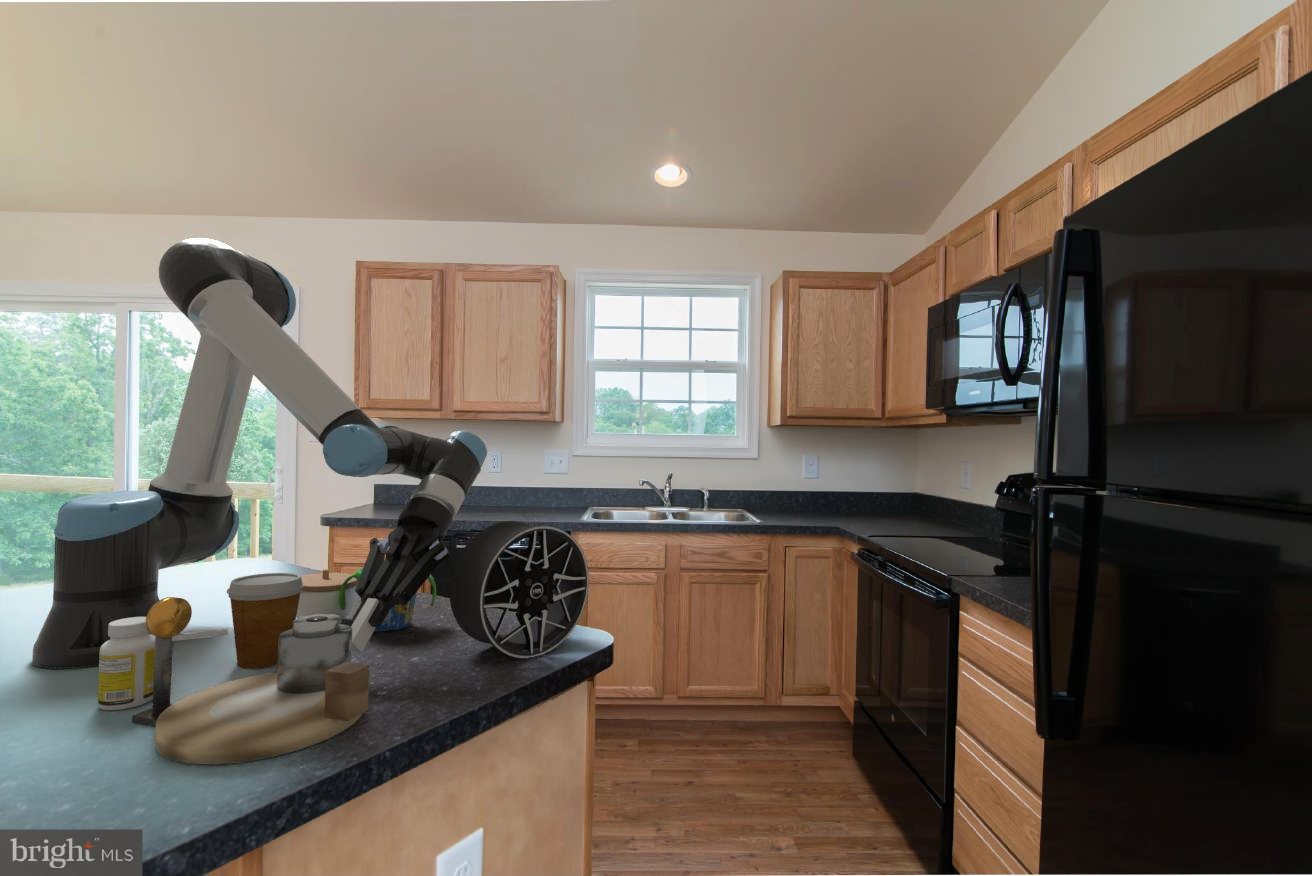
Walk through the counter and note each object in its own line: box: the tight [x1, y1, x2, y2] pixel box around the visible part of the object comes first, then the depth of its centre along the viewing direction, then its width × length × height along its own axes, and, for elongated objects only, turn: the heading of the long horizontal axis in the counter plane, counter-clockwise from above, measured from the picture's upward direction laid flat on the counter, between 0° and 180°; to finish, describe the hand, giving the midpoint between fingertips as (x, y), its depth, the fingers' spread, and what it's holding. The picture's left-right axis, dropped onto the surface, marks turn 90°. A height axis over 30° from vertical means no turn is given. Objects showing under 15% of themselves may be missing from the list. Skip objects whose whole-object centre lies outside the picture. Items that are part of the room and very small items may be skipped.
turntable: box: [154, 661, 370, 765], centre depth 69 cm, size 22×20×7 cm
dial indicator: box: [131, 596, 229, 728], centre depth 71 cm, size 6×7×14 cm
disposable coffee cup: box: [226, 572, 304, 670], centre depth 88 cm, size 10×10×12 cm
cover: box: [276, 614, 352, 694], centre depth 76 cm, size 8×8×8 cm
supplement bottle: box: [97, 617, 155, 712], centre depth 74 cm, size 5×5×10 cm
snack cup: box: [339, 567, 437, 632], centre depth 107 cm, size 16×10×10 cm
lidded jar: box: [296, 568, 358, 624], centre depth 108 cm, size 11×11×9 cm
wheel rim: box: [449, 520, 590, 659], centre depth 97 cm, size 20×9×20 cm, turn 136°
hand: (352, 646), depth 81 cm, fingers closed
